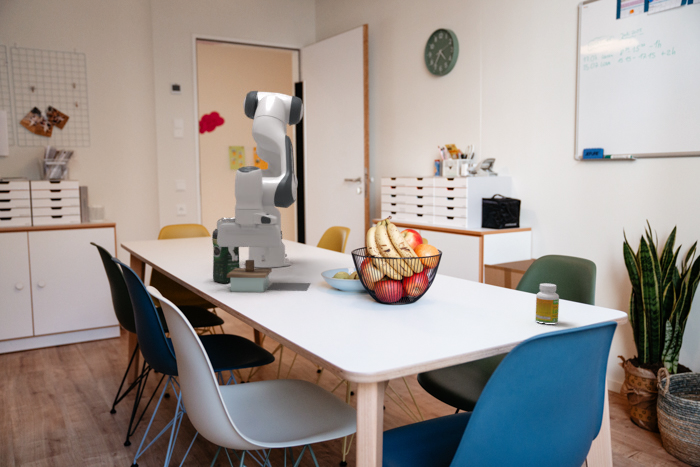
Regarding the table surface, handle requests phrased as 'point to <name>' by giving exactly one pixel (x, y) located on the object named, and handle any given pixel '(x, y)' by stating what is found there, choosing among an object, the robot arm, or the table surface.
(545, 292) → the supplement bottle
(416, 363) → the table surface
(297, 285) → the mat
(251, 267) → the lid
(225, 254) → the coffee jar
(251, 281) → the mint green open box
